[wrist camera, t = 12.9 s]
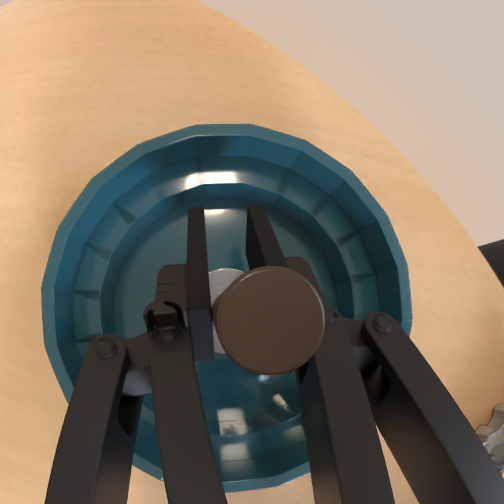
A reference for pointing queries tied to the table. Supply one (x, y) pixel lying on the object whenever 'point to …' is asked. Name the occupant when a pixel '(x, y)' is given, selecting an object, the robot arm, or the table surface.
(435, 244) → the table surface
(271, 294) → the brown rod
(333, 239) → the bowl
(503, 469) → the egg carton
